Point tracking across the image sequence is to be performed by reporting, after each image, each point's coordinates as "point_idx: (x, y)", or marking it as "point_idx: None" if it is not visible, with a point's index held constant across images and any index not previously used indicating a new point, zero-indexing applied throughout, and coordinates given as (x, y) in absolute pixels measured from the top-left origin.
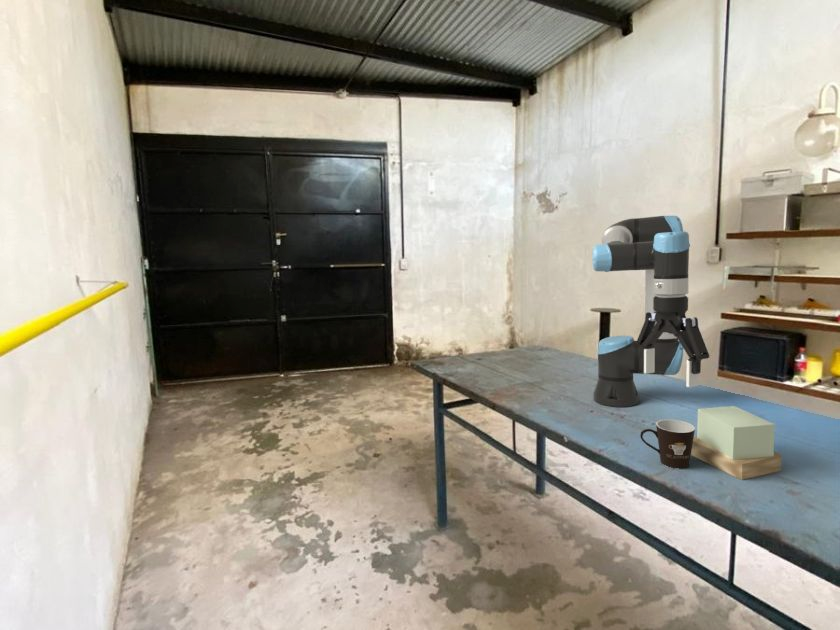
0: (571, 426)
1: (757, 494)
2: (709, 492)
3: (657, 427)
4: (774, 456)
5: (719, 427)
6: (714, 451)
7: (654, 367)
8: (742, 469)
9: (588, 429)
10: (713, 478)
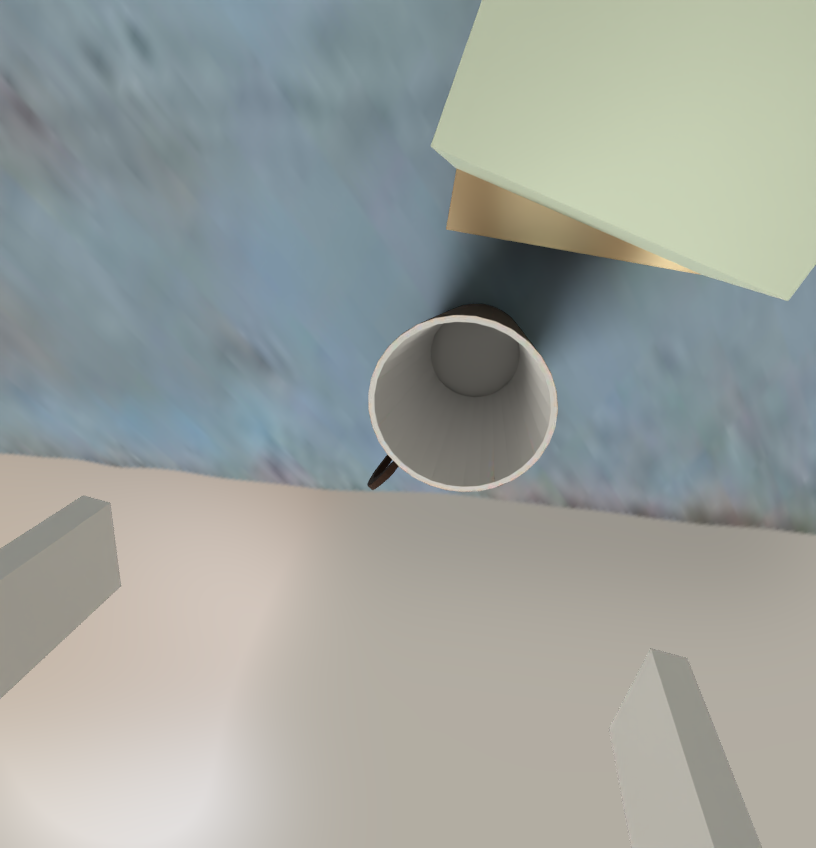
0: (72, 390)
1: (808, 339)
2: (671, 454)
3: (414, 473)
4: None
5: (641, 240)
6: (597, 255)
7: (62, 534)
8: None
9: (113, 362)
10: (634, 351)
